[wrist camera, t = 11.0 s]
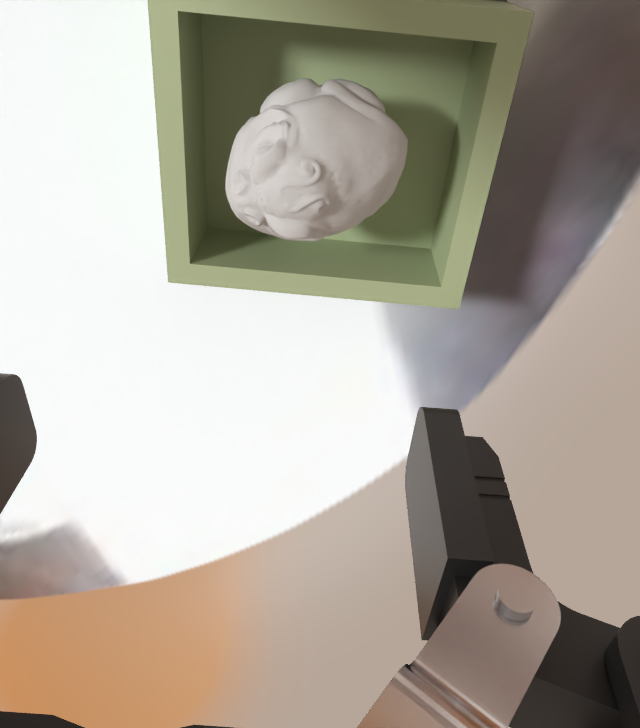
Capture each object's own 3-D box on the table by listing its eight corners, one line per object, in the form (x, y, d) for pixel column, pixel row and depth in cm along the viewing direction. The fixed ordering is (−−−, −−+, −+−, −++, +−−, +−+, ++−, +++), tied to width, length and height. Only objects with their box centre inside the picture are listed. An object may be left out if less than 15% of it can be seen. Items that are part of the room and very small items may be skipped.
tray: (173, -129, 22) (137, -144, 18) (525, -92, 22) (562, -99, 18) (190, 239, 30) (168, 282, 26) (445, 263, 30) (459, 308, 27)
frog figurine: (223, 91, 25) (187, 134, 20) (383, 37, 24) (394, 67, 18) (271, 221, 29) (252, 290, 23) (414, 180, 27) (431, 243, 22)
